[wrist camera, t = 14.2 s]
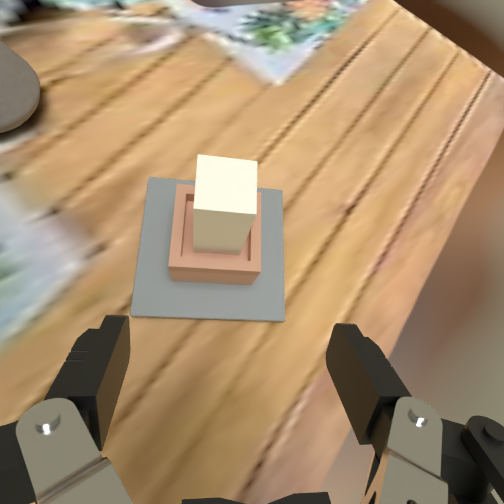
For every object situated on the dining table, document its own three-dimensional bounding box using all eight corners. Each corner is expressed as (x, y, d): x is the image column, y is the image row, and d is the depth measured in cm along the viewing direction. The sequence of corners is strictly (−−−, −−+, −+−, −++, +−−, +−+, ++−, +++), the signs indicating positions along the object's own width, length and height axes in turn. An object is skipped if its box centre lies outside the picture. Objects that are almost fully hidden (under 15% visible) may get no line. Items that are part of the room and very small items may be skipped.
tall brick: (193, 252, 32) (193, 208, 23) (196, 210, 33) (198, 154, 24) (239, 255, 32) (256, 214, 23) (240, 214, 34) (257, 161, 25)
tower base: (132, 316, 34) (118, 306, 27) (150, 182, 39) (142, 147, 33) (282, 322, 36) (300, 313, 30) (279, 194, 41) (295, 164, 35)
